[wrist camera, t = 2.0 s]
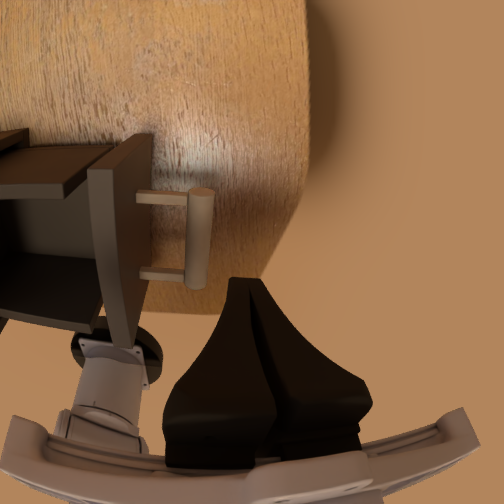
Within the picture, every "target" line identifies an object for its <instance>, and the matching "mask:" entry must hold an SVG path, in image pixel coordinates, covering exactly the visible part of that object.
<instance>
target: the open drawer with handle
mask: <svg viewBox="0 0 504 504" xmlns="http://www.w3.org/2000/svg"><path fill="white" fill-rule="evenodd" d="M152 137H153V135H152V134H134V135H132V136H131V137H130V138H128V139H127V140H125V141H124V142H122V143H121V144H120V145H118V146H117V147H115V148H114V145H74V146H52V147H36V148H24V149H13V150H4V151H0V317H5V318H9V319H14V320H18V321H23V322H27V323H32V324H37V325H42V326H47V327H53V328H58V329H64V330H70V331H76V332H82V333H89V334H92V332H93V329H94V326H95V323H96V321H97V318H98V315H99V312H100V310H101V307H102V305H103V303H104V308H105V312H106V317H107V321H108V325H109V329H110V333H111V337H112V341H113V345H114V347H119V348H127V349H133V345H134V341H135V336H136V332H137V327H138V323H139V319H140V314H141V310H142V306H143V302H144V298H145V294H146V291H147V287H148V283H149V280H159V281H172V282H184V283H185V285H186V287H188V288H189V289H192V290H200V289H203V288H204V287H205V286H206V285H207V275H208V262H209V251H210V240H211V229H212V219H213V209H214V199H215V192H214V191H213V190H211V189H208V188H203V187H197V188H192V189H190V190H189V192H188V193H187V192H173V191H157V190H150V186H151V155H152ZM150 204H160V205H176V206H187V204H188V207H187V224H186V246H185V270H183V269H169V268H156V267H152V266H151V235H150Z"/></svg>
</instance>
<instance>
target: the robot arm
mask: <svg viewBox="0 0 504 504" xmlns="http://www.w3.org/2000/svg"><path fill="white" fill-rule="evenodd" d="M79 344H80V347H81V349H82V352H83V354H84V357H85V364H84V367H83V370H82V374H81V377H80V381H79V384H78V388H77V392H76V395H75V399H74V403H73V407H72V409H71V411H70V410H67V409H64V410H62V411H60V412H59V415H58V419H57V422H56V426H55V430H54V434H53V435H52V434H49V433H48V431H47V430H46V429H45V428H44V427H43V426H41V425H40V424H38V423H36V422H34V421H31V420H28V419H25V418H22V417H19V416H16V415H13V416H12V419H11V422H10V426H9V429H8V432H7V436H6V440H5V444H4V448H3V452H2V456H1V460H0V470H1V471H3V472H4V473H6V474H7V475H9V476H11V477H12V478H14V479H16V480H17V481H19V482H21V483H22V484H24V485H26V486H28V487H30V488H32V489H34V490H37V491H39V492H42V493H45V494H47V495H50V496H53V497H56V498H59V499H61V500H64V501H68V502H69V504H384V502H383V498H382V497H384V496H387V495H390V494H392V493H395V492H397V491H400V490H402V489H405V488H407V487H410V486H412V485H414V484H417V483H419V482H421V481H423V480H425V479H427V478H430V477H432V476H434V475H436V474H438V473H440V472H442V471H444V470H446V469H448V468H450V467H452V466H453V465H455V464H456V463H458V462H459V461H461V460H462V459H464V458H465V457H467V456H468V455H470V454H471V453H473V452H474V451H476V450H477V449H478V448H480V443H479V441H478V439H477V436H476V434H475V432H474V429H473V427H472V425H471V423H470V421H469V419H468V417H467V415H466V413H465V411H464V409H463V407H461V408H458V409H456V410H453V411H451V412H448V413H446V414H445V415H443V416H442V417H441V418H439V419H438V420H437V422H436V423H433V424H430V425H427V426H425V427H422V428H419V429H415V430H412V431H409V432H406V433H402V434H399V435H395V436H392V437H388V438H385V439H381V440H377V441H372V442H368V443H364V444H361V443H360V440H359V436H358V433H359V432H360V427H359V424H358V423H359V422H360V420H361V419H362V418H363V417H364V416H365V415H366V414H367V413H368V412H369V410H370V409H371V407H372V405H373V401H372V398H371V396H370V393H369V390H368V388H367V386H366V384H365V382H364V380H362V379H361V378H359V377H357V376H355V375H353V374H352V373H350V372H348V371H346V370H345V369H343V368H342V367H340V366H339V365H337V364H336V363H334V362H333V361H331V360H330V359H329V358H327V357H326V356H325V355H324V354H322V353H321V352H320V351H319V350H318V349H316V348H315V347H314V346H313V345H312V344H311V343H310V342H308V341H307V340H306V339H305V338H304V337H303V336H302V335H301V334H300V332H299V331H298V330H297V329H296V328H295V327H294V326H293V325H292V323H291V322H290V321H289V320H288V318H287V317H286V316H285V315H284V314H283V312H282V311H281V309H280V308H279V307H278V305H277V304H276V302H275V301H274V299H273V298H272V296H271V295H270V293H269V291H268V290H267V288H266V287H265V285H264V283H263V282H262V280H261V279H258V278H241V277H231V278H230V279H229V282H228V290H227V298H226V302H225V305H224V308H223V311H222V313H221V316H220V318H219V321H218V323H217V325H216V327H215V329H214V331H213V333H212V335H211V337H210V339H209V340H208V342H207V344H206V345H205V347H204V348H203V350H202V351H201V353H200V354H199V356H198V357H197V358H196V360H195V361H194V362H193V364H192V365H191V366H190V368H189V369H188V370H187V371H186V373H185V374H184V375H183V376H182V377H181V378H180V379H179V380H178V381H177V382H176V384H175V385H174V387H173V389H172V391H171V393H170V396H169V398H168V400H167V402H166V405H165V408H164V412H163V423H162V430H163V434H164V438H165V441H166V448H165V456H159V455H150V454H149V449H148V446H147V444H146V442H145V440H144V438H143V437H141V436H139V428H138V427H137V425H138V419H139V410H140V402H141V394H142V390H149V388H150V386H149V381H148V376H147V371H146V366H145V361H144V356H143V350H142V347H141V346H140V345H135V344H134V345H133V349H127V348H119V347H114V345H113V342H110V341H103V340H96V339H89V338H82V337H81V338H79Z"/></svg>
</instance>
